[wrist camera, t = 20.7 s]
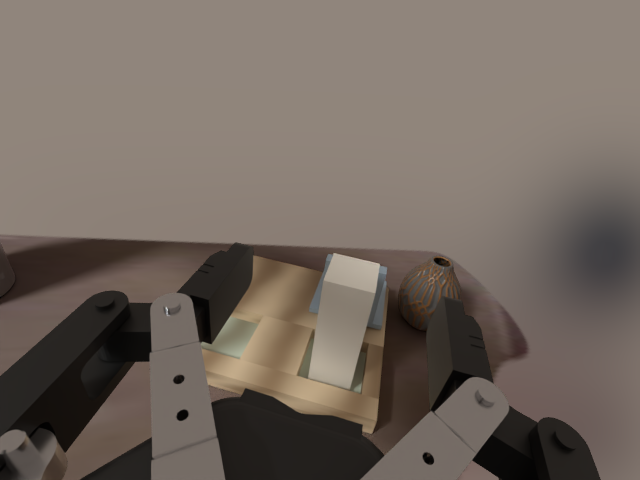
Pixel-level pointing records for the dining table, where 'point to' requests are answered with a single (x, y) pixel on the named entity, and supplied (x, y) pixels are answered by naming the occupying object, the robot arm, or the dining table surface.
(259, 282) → the puzzle board
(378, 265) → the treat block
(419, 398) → the dining table surface
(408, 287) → the vase
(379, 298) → the blue l-shaped block
